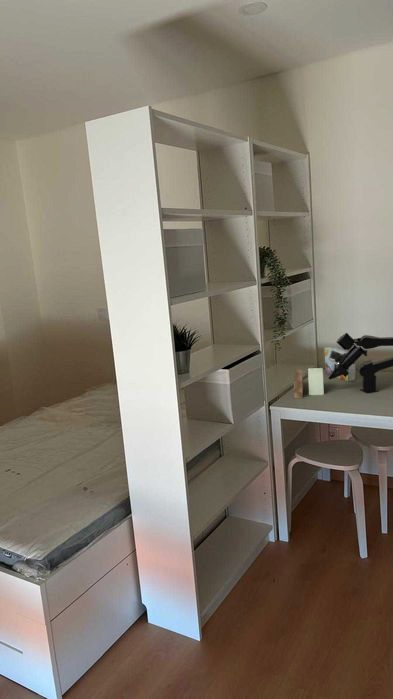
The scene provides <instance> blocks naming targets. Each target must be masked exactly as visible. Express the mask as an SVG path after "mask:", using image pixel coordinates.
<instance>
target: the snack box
mask: <svg viewBox="0 0 393 699" xmlns="http://www.w3.org/2000/svg"><path fill="white" fill-rule="evenodd" d="M323 349H324V350H323V351H324V365H325V366H324V367H325V368H324V369H325V370H324V371H325V374H326V375H329V376H330V374H331V373H332V371H333V370H334V363H335V364H337V362H335V361H334V360H335V359H331V358H330V354H331V352H332V350H333V351H335V352H338V353H340V354H342V355H343V354H344V353H347V352H348V351H349V350H347V349H346V350H344V349H343V348H342V349H341V348H338V347H334V346H328V347H324V348H323ZM356 376H357V375H356V363H355V364H352V365H351V366H350V367H349V369H348V375H347V376H346V377H345V376H344V375H341V376H338V377H336V379H340V380H343V381H346V382H352V381H353V382H354V381H357V380H356Z"/></svg>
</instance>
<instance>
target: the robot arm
mask: <svg viewBox="0 0 393 699" xmlns="http://www.w3.org/2000/svg"><path fill="white" fill-rule="evenodd" d="M336 344H337V345H339V346H340V347H341V348H342V350H346V351H348V352H347V353H344V354H343V355H342V354H340V353H338V352H335V351H333V350H332V352H331V354H330V358H331V359H335V360H334V361H335V362H337V364H335V363H334V370H333V371H332V373H331V374H330V375H329V376H328V379H329V380H333V379H335V378H336V379H337V377H338V376H341V375H344V376H345V377H346V376H347V375H348V369H349V367H350V366H351V365H352V364H355V365H356V361H357V360H358V359H360V358H361V356H363V355H364V357H367V356H368V350H370V349H375V348H379V347H393V336H391V337H390V336H389V337H388V336H387V337H383V336H382V337H379V336H373V335H369V334H368V335H367V334H365V335H362V336H361V337H358V338H353V337H352V336H351V335H350V334H349V333H348V332H345V333H344V334H343V335H341V336H340V337H339V338H337V340H336ZM392 367H393V356H392V357H387V358H385V359H382V360H378V361H372V359H368V360H367V361H362V363H360V364H359V365H358V368H357V369H358V372H359V375H360V376H361V377H362V388H359V389H360V391H361V392H364V393H366V394H371V393H376V392H379V391H380V390H379V389H377V374H376V373H378V372H379V371H382V370H385V369H389V368H392Z"/></svg>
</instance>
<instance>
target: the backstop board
mask: <svg viewBox="0 0 393 699" xmlns="http://www.w3.org/2000/svg"><path fill="white" fill-rule="evenodd" d="M293 374H294V375H293V393H294V395H293V396H294V397H293V398H294V399H303V398H304V376H303V375H304V373H303V369H294V373H293Z"/></svg>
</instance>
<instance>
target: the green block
mask: <svg viewBox="0 0 393 699" xmlns="http://www.w3.org/2000/svg"><path fill="white" fill-rule="evenodd" d="M323 370H324V368H323V367H318V368H315V367H313V368H312V367H311V368H308V370H307V371H308V373H307V375H308V380H307V381H308V395H309V396H324V395H325V392H324V371H323Z"/></svg>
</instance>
